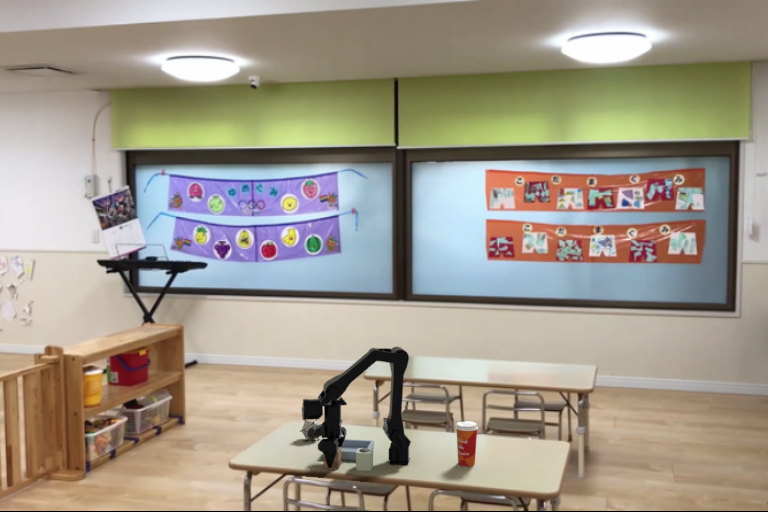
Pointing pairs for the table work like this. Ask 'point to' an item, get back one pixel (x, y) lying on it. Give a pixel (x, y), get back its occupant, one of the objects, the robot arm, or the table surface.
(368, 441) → the tray
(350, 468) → the table surface
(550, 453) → the table surface
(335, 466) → the walnut block
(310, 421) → the game die
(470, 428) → the paper cup
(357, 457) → the sage block
